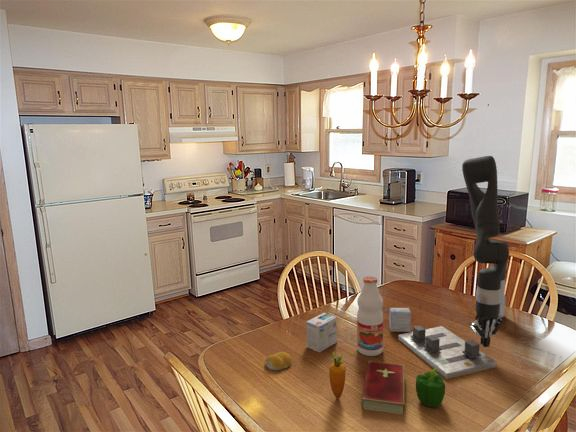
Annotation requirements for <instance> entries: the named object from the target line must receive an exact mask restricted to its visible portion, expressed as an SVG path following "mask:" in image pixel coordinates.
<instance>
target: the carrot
mask: <svg viewBox="0 0 576 432" xmlns="http://www.w3.org/2000/svg"><path fill="white" fill-rule="evenodd" d="M331 355H332V357H333V363H331V364H330V366H329V368H328V370H329V371H328V372H329V373H328V374H329V376H328V377H329V383H330V388H331V391H332V394H333V396H334V397H335V398H336V400H339V399H340V398H341V396H342V395H343V393H344V389H345V383H346V372H347V370H346V366H345V365H344V364H343V363H344V362H343V361H342V359H343V354H342V353H341V354H339V355H338V356H337V357H336V353H335V352H332V353H331Z"/></svg>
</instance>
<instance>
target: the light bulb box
mask: <svg viewBox="0 0 576 432" xmlns="http://www.w3.org/2000/svg"><path fill="white" fill-rule="evenodd" d="M305 323H306V347H307V348H308V349H311V350H312V351H315V352H316V353H321V352H323V351H325V350H326V349H328V348H330V347H331V346H333V345H335V344H336V343H337V342H338V333H337V332H338V325H337V316H335V315H332V314H329V313H327V312H322V313H321V314H318V315H316V316H315V317H312V318H311V319H310V318H309V319H308V320H306V321H305Z"/></svg>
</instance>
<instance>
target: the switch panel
mask: <svg viewBox="0 0 576 432" xmlns="http://www.w3.org/2000/svg"><path fill="white" fill-rule="evenodd" d="M425 329H426V328H425ZM411 335H413V331H410V332H405V333H401V334H398V338H397V339H398V341H399V342H401V343H402V344H403V345H404V346H405V347H407V348H408V349H409V350H410V351H412V352H413V353H414V354H415V355H416V356H418V357H419V358H420V359H421V360H422V361H424V362H425V363H426V364H427V365H428V366H430V367H431V368H432V370H433V369H434V368H435V369H437V371H436V372H437V373H438V374H439V375H441V377H442V378H444V379H446V380H448V379H452V378H457V377H461V376H465V375H469V374H474V373H477V372H481V371H482V372H483V371H484V370H485V371H487V370H489V369H493V368H497V361H496V360H495V359H494V358H492V357H490V356H489V355H488V354H487V353H484V352H483V351H481V350H480V349H479V353H480V354H481V356H479V357H474V358H469V357H468V356H467V355H465V354H464V353H462V351H465V341H466V340H464V339H462V337H459V336H458V335H457V334H455V333H454V332H452V331H450V330H449V329H448V328H445V327H444V326H443V325H442V326H441V325H440V326H436V327H431V328H427V329H426V332H425V337H426V336H430V335H434V336H436V337H437V338H439V339H440V341H439V347H440V348H441V350H440V351H435V352H430V351H428V350H427V349H426V348H424V345H426V340H424V341H419V342H417V341H415V340H414V339H413V338H411Z"/></svg>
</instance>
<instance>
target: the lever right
mask: <svg viewBox="0 0 576 432" xmlns="http://www.w3.org/2000/svg"><path fill="white" fill-rule="evenodd" d="M412 332H413V335H411V338H413V339H414V340H415V341H417V342H419V341H424V340H426V337H425V332H426V328H424V327H423V326H421V325H415V326H412Z"/></svg>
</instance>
